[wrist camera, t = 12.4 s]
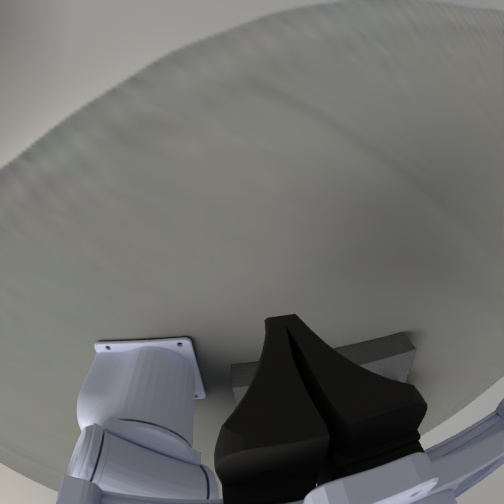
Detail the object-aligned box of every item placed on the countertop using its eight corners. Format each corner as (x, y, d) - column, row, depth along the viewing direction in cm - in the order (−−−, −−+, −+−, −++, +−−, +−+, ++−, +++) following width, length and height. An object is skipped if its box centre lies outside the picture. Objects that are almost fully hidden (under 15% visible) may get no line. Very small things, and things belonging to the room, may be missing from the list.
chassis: (249, 459, 33) (252, 479, 30) (230, 364, 26) (232, 391, 23) (373, 432, 35) (381, 449, 31) (406, 331, 27) (422, 350, 24)
